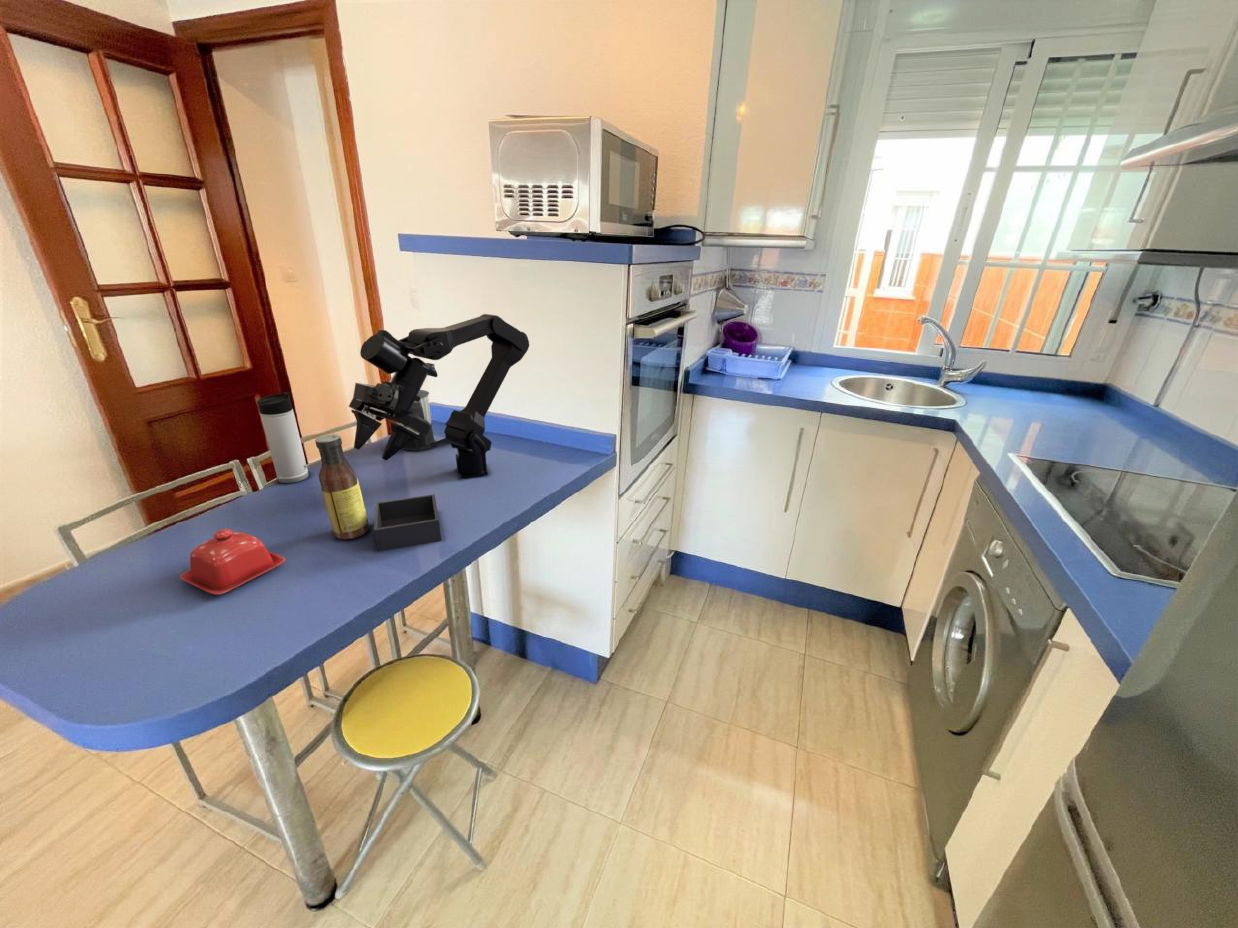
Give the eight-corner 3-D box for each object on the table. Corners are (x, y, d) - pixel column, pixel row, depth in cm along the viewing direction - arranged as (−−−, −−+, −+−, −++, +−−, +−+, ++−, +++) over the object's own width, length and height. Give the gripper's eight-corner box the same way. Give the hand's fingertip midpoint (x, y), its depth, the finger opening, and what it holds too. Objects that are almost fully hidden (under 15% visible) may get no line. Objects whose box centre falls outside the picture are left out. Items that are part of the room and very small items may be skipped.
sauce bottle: (375, 525, 100) (358, 432, 92) (358, 542, 95) (337, 445, 87) (344, 523, 101) (324, 430, 93) (325, 539, 95) (301, 442, 87)
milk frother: (394, 444, 139) (385, 392, 133) (445, 431, 150) (440, 383, 144) (419, 459, 131) (411, 405, 125) (472, 444, 141) (467, 393, 135)
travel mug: (316, 475, 120) (297, 394, 112) (289, 485, 115) (267, 401, 107) (298, 469, 123) (279, 390, 115) (271, 480, 117) (249, 397, 109)
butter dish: (250, 548, 92) (237, 507, 88) (291, 565, 87) (279, 523, 84) (177, 582, 82) (160, 538, 79) (219, 604, 78) (202, 558, 74)
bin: (437, 512, 106) (434, 494, 104) (441, 540, 96) (438, 519, 95) (379, 521, 102) (375, 502, 100) (377, 551, 92) (373, 530, 90)
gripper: (345, 358, 100) (307, 428, 97) (404, 372, 91) (364, 450, 88) (388, 384, 110) (355, 449, 107) (446, 400, 101) (411, 470, 98)
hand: (369, 454), depth 100 cm, fingers open, 9 cm apart
